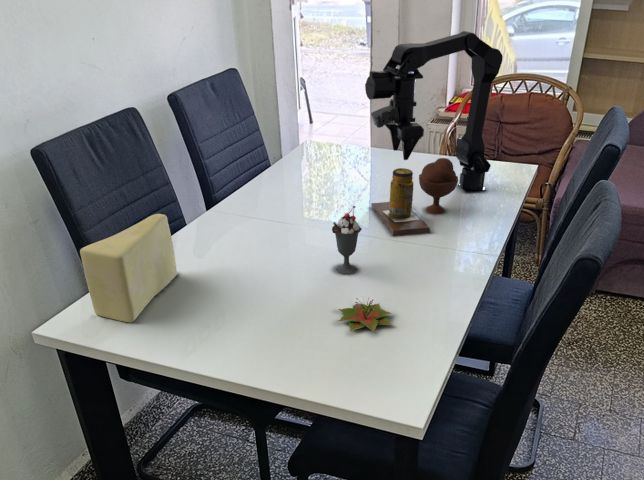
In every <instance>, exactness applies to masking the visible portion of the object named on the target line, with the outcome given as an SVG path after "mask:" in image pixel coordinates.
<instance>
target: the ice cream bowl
mask: <svg viewBox="0 0 644 480" xmlns="http://www.w3.org/2000/svg"><path fill="white" fill-rule="evenodd" d="M418 182H419V186H420V189H421V190H422V191H423V193H425V194H427V195H428V196H430V197H432V199H433V201H432V204H430V205H429V206H426V208H425V212H427V213H429V214H431V215H443V214H445V213H446V209H445V207H443V206H442V205H440V201H441V200H440V199H441V198H444V197H447V196H448V195H450V194H451V193H452V192H454V191H455V189H456V188H457V186H458V184H459V177H458V175H457V174H456V171H455V170H454V164H453V162H452V161H451V160H450V159H449V158H446V157H439V158H437V159H436V160H434V161H432V162H429V163H427V164H426V165H424V167H423V168H422V169H421V173H420V174H418Z"/></svg>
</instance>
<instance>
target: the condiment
mask: <svg viewBox="0 0 644 480" xmlns="http://www.w3.org/2000/svg"><path fill="white" fill-rule="evenodd" d="M413 175H414V173H413V170H412V169H410V168H404V167H401V168H400V167H399V168H394V170H393V171H392V177H391V181H390V186H389V187H390V188H389V189H390V190H389V202H390V204H389V210H387V211H383V212H384V213H385V214H386V215H387V216H388V217H390V218H391V219H392V220H393V221H394V222H405V221H411V220H418V219H419V218H418V217H417V216H416V215H414V214H413V213H412V212H411V210H412V209H413V201H414V198H413V196H414V181H413V179H414V176H413Z"/></svg>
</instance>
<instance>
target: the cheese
mask: <svg viewBox="0 0 644 480" xmlns="http://www.w3.org/2000/svg"><path fill="white" fill-rule="evenodd" d="M79 254H80V258H81V263H82V268H83V272H84V278H85V281H86V286H87V288H88V293H89V296H90V300H91V304H92V308H93V311H94V313H95V315H97V316H99V317H104V318H107V319H111V320H116V321H120V322H124V323H133V322H134V321H135V320H137V318H138V317H139V316H140V314H141V313H142V312H143V310H144V309H145V308H146V307H147V306H148V304H149V303H150V302H151V301H152V300H153V298H155V296H156V295H158V294H159V293H160V292H161V291H162V290H163V289H165V288H166V287H167V286H168V285H169V284H170V283H171V282H172V281H173V280H174V279H175V278H176V276H177V273H178V270H177V262H176V261H177V260H176V254H175V248H174V242H173V238H172V234H171V229H170V225H169V221H168V216H167V215H166V214H162V213H155V214H152V215H150V216H148V217H145V218H144V219H143V220H141V221H140V222H137V223H136V224H133V225H131V226H130V227H128V228H126V229H123V230H122V231H119V232H118V233H115V234H114V235H111V236H109V237H107V238H104V239H101V240H98V241H96V242H93V243H91V244H88V245H85V246H84V247H82V248H80V249H79Z"/></svg>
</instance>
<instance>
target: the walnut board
mask: <svg viewBox="0 0 644 480" xmlns="http://www.w3.org/2000/svg"><path fill="white" fill-rule="evenodd" d="M389 204H390V201H382V202H372V203H371V209H372V211H373V212H374V213H375V215H376V216H377V217H378V218H379V220H380V221H381V222H382V224H383V225H384V226H385V228H386V229H387V230H388V231H389V233H390V234H391V235H392V237H397V236H407V235H409V236H410V235H418V234H419V235H421V234H429V233H430V229H431V227H430V226H429V225H428V223H426V221H425V220H424V219H423V218H422V217H421V216H420V215H419V214H418V212H416V210H414V208H412V210H411V212H412V213H413V214H414V215H416V216H417V217H418V218H419V219H418V220H411V221H405V222H394V221H393V220H392V219H391V218H390V217H388V216H387V215H386V214H385V213H384V212H383V211H387V210H389Z"/></svg>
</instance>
